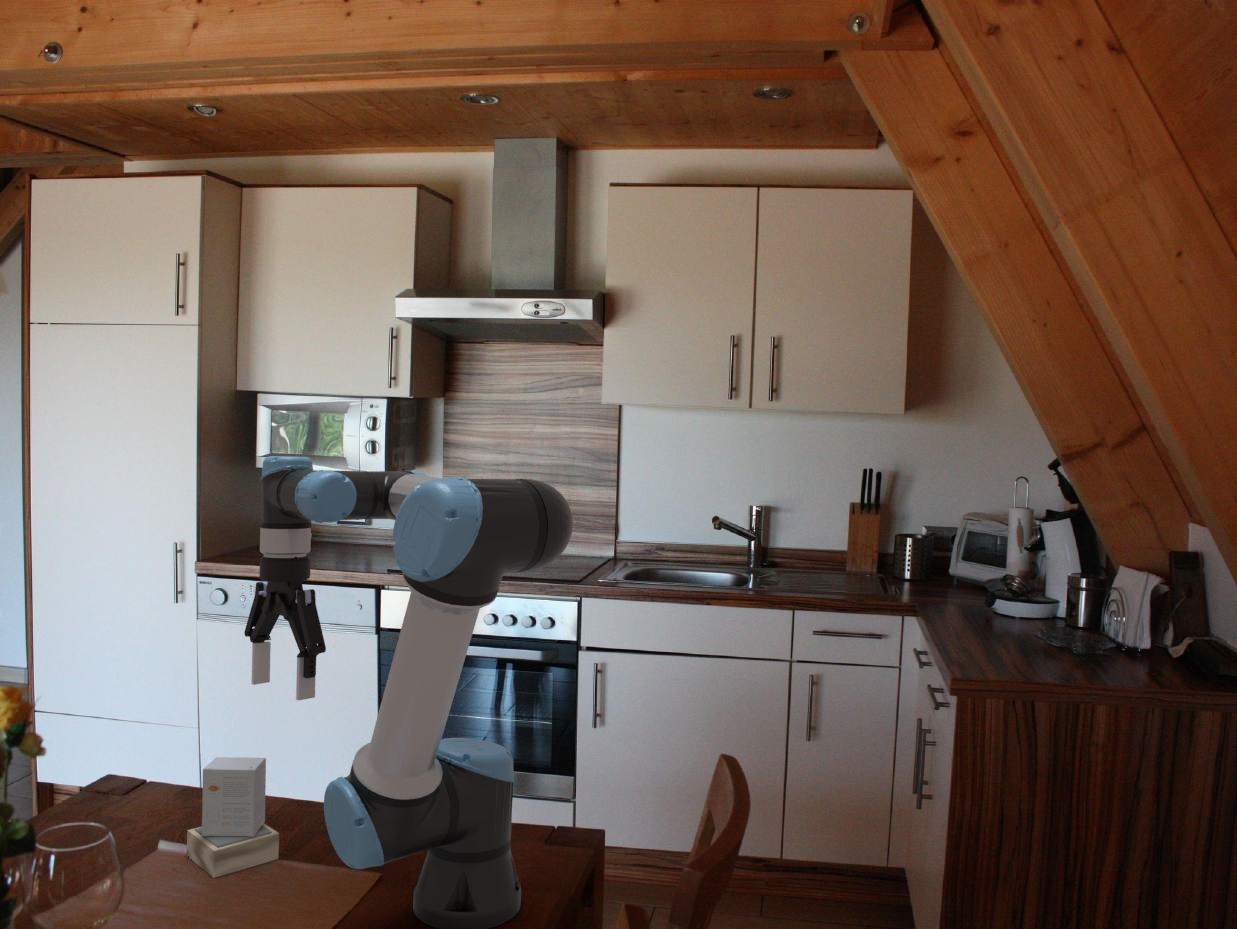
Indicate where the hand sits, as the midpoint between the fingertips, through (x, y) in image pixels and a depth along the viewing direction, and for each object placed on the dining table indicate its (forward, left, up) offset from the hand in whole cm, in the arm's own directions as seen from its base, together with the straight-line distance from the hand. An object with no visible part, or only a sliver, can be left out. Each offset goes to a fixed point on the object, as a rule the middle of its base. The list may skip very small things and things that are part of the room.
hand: (282, 690), depth 151 cm
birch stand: (+3, +6, -26) cm, 26 cm away
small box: (+3, +6, -22) cm, 23 cm away
